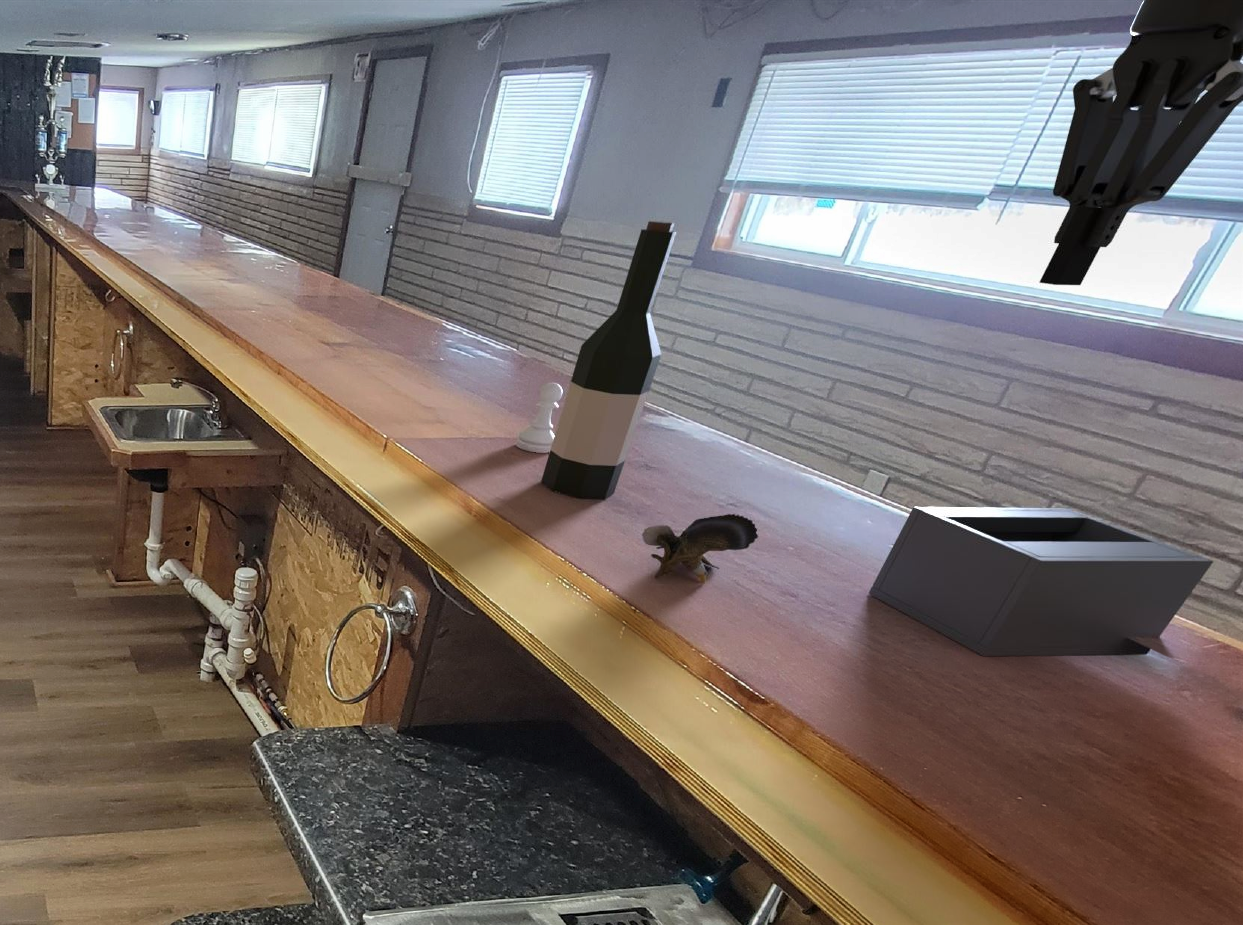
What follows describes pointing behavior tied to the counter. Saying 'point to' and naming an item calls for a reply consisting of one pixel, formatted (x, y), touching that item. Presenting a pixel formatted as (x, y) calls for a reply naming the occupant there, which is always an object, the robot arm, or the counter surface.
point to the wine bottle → (611, 381)
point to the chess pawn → (541, 422)
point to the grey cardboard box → (1035, 580)
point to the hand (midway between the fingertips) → (1059, 283)
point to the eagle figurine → (699, 542)
